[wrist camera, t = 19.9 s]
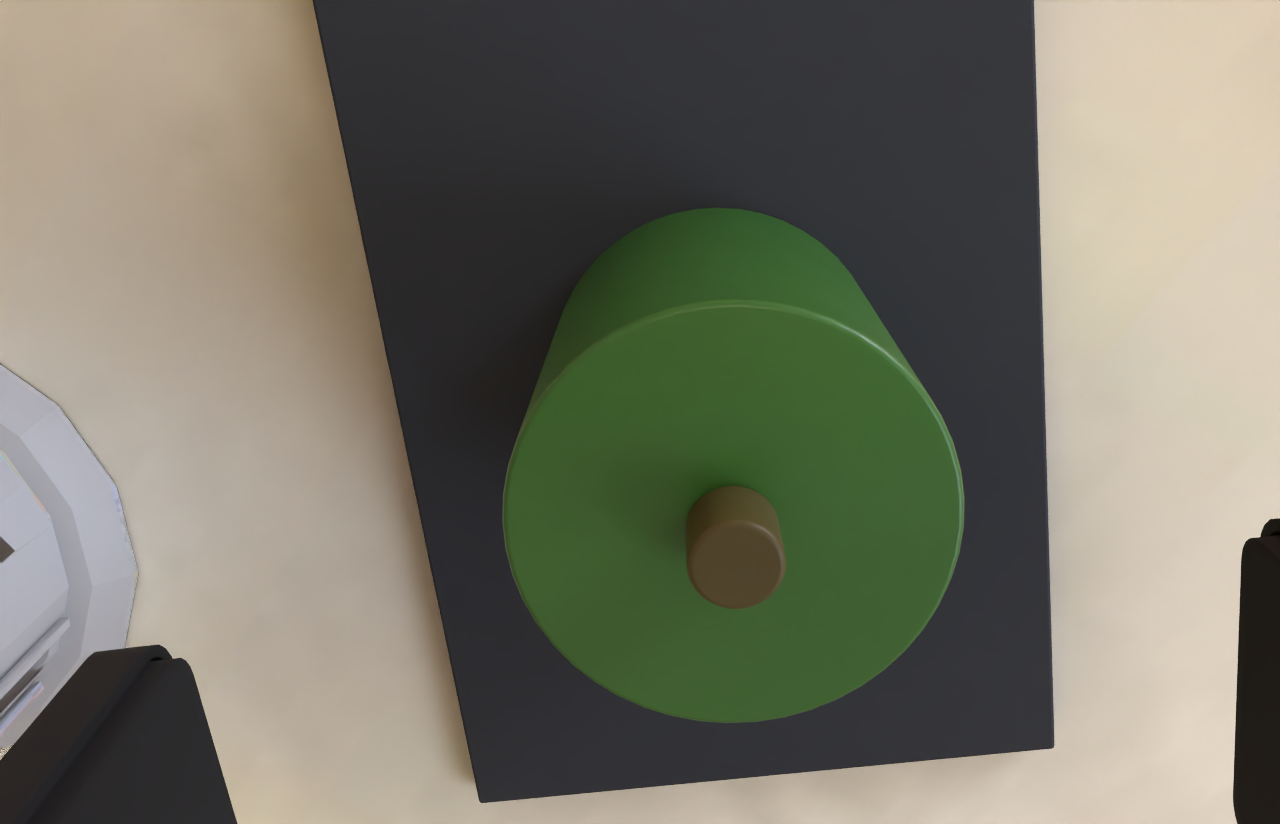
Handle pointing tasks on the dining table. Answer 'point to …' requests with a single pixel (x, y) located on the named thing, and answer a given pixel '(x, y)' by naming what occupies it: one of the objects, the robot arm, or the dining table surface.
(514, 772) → the mat
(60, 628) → the french press
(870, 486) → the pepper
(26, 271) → the dining table surface
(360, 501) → the dining table surface
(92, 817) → the robot arm
